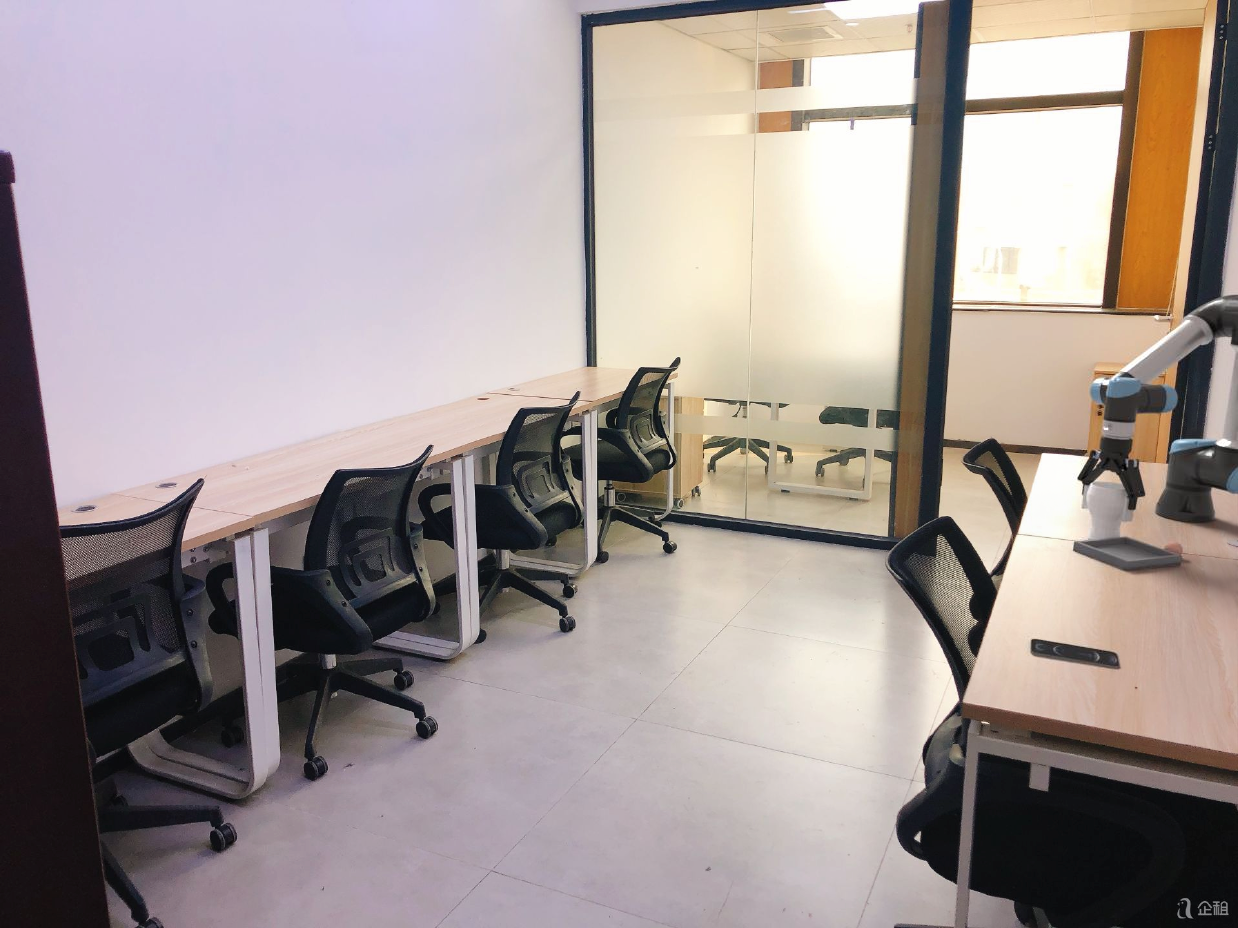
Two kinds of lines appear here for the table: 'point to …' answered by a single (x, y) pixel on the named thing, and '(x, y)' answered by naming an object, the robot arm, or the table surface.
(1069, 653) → the smartphone
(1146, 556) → the tray
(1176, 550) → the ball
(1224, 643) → the table surface
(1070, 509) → the table surface
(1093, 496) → the cup
